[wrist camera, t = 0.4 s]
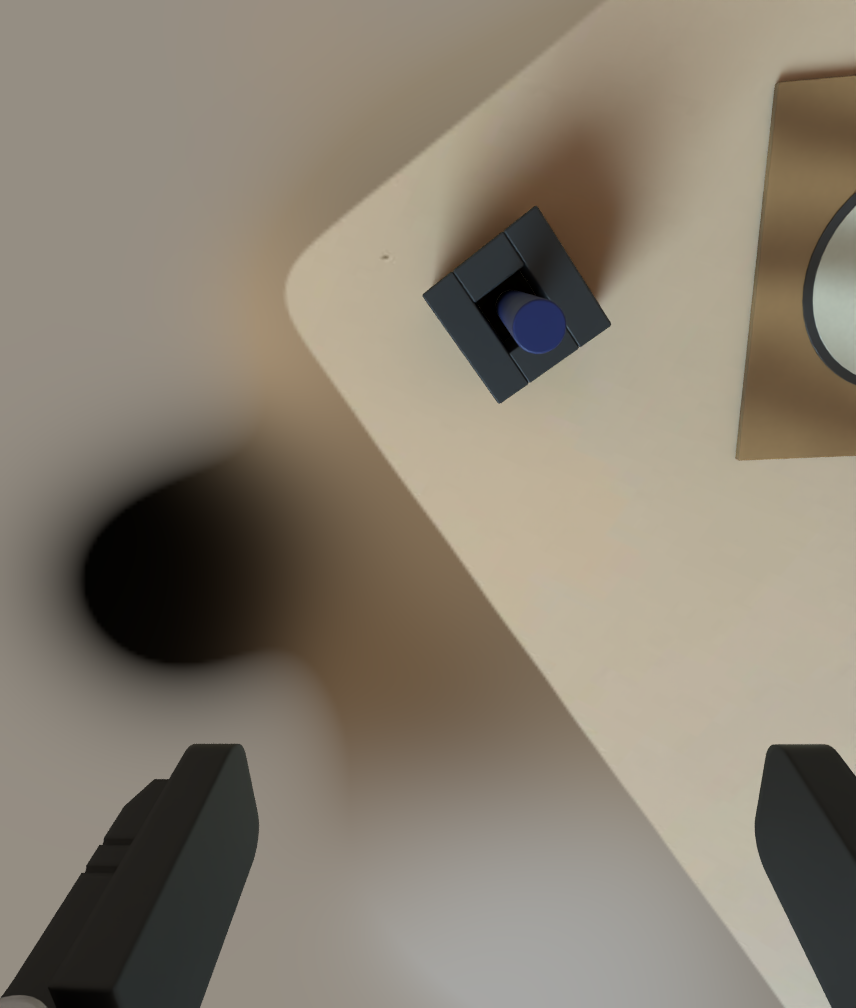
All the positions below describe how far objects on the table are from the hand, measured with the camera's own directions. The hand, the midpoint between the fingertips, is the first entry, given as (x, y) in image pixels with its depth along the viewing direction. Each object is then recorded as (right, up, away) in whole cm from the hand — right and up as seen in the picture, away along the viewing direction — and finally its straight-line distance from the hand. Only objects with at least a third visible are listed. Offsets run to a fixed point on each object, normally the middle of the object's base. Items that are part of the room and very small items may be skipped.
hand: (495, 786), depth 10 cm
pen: (+3, +14, +20) cm, 24 cm away
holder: (+3, +14, +20) cm, 24 cm away
